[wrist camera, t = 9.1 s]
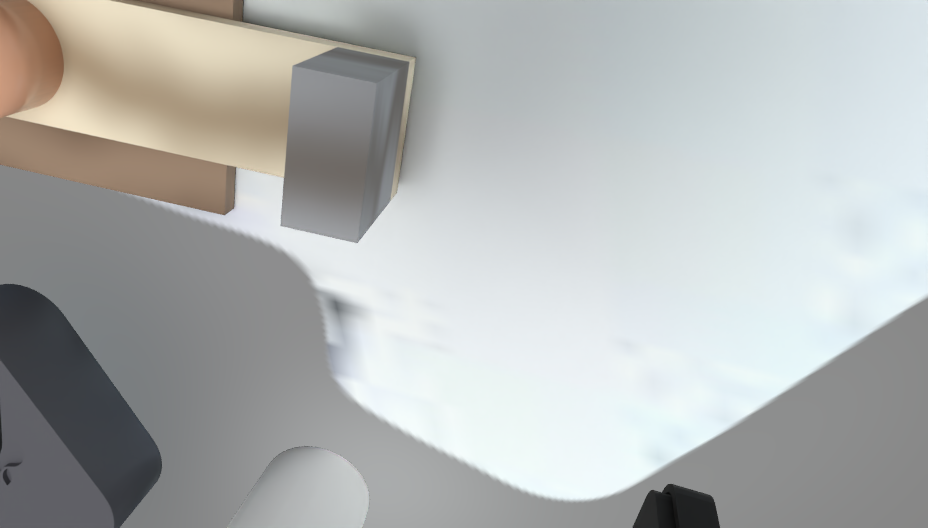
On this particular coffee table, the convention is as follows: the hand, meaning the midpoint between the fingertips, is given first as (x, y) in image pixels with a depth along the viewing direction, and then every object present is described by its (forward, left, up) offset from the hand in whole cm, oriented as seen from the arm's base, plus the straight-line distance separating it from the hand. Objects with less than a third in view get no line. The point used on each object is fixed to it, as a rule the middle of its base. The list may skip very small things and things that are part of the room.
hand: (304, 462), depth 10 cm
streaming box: (+24, -24, -25) cm, 42 cm away
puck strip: (+1, -15, -23) cm, 28 cm away
